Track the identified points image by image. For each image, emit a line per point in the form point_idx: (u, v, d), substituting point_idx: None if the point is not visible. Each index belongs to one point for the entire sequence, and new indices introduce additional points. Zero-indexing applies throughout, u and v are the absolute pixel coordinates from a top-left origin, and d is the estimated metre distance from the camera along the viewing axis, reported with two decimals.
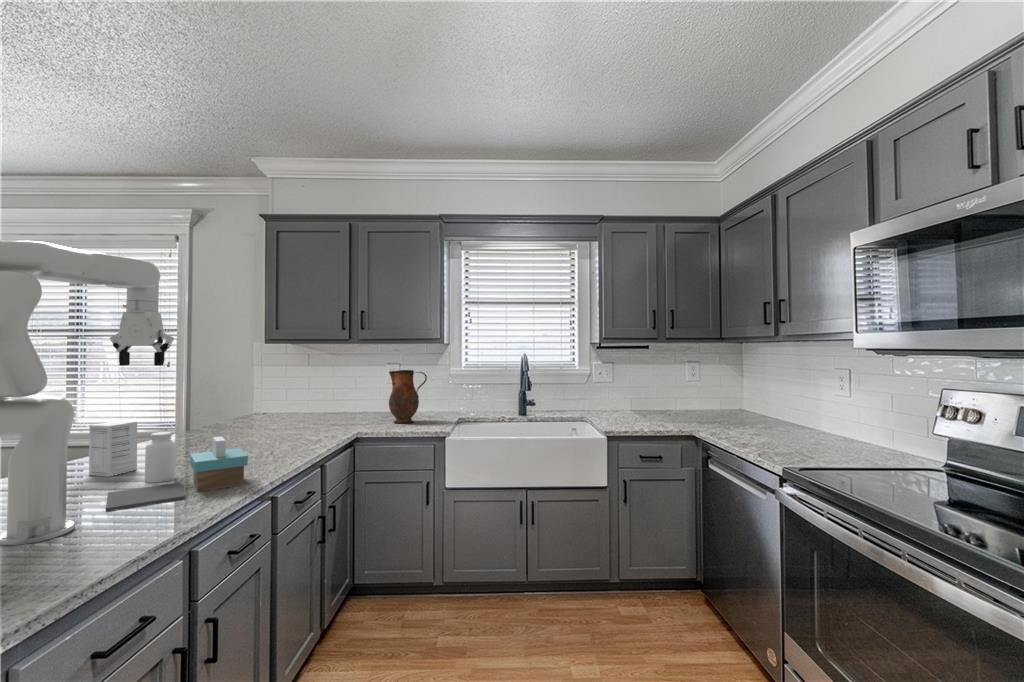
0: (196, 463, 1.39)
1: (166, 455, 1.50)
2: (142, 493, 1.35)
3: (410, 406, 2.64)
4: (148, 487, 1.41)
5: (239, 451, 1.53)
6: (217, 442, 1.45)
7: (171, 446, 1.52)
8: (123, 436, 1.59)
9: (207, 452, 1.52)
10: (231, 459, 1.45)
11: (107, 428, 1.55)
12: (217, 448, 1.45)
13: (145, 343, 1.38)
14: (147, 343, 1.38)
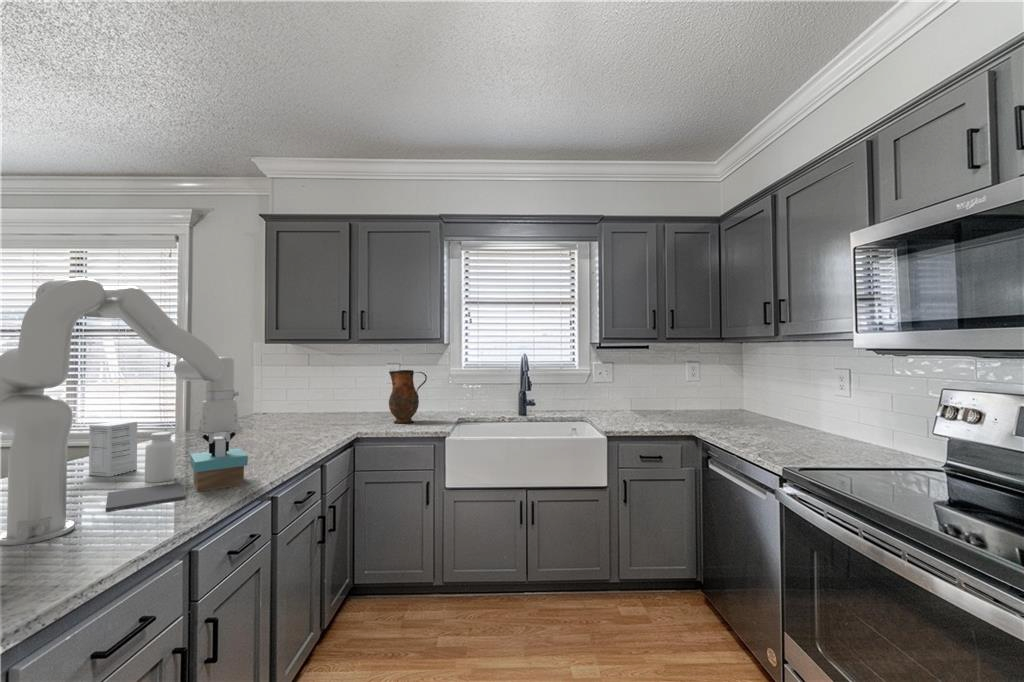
0: (196, 463, 1.39)
1: (166, 455, 1.50)
2: (142, 493, 1.35)
3: (410, 406, 2.64)
4: (148, 487, 1.41)
5: (239, 451, 1.53)
6: (217, 442, 1.45)
7: (171, 446, 1.52)
8: (123, 436, 1.59)
9: (207, 452, 1.52)
10: (231, 459, 1.45)
11: (107, 428, 1.55)
12: (217, 448, 1.45)
13: None
14: None
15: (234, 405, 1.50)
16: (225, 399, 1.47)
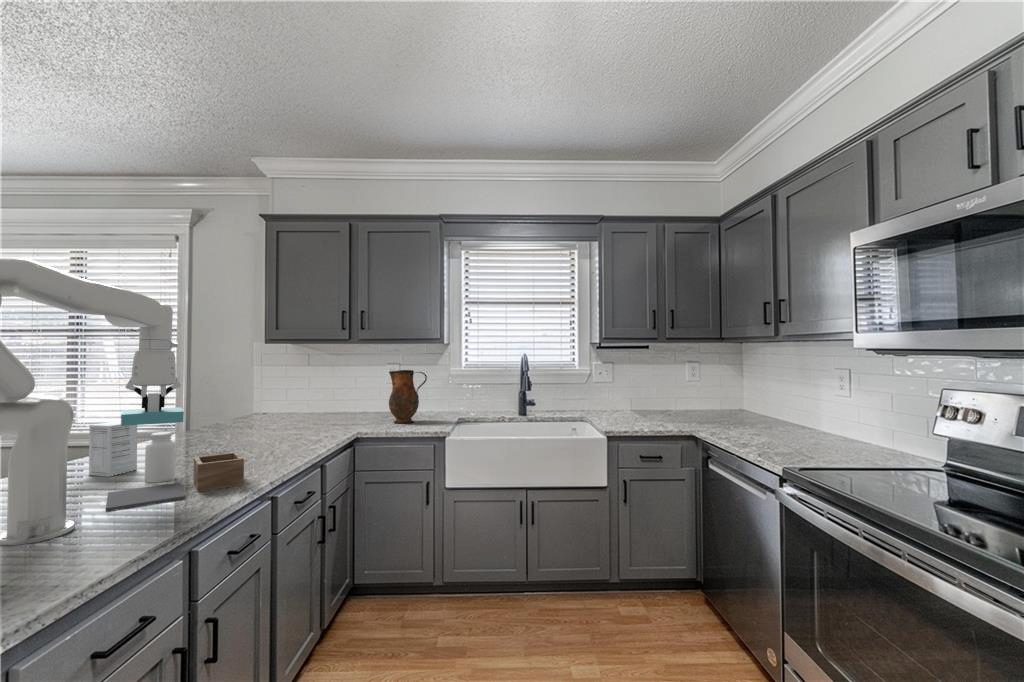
0: (123, 416, 1.26)
1: (166, 455, 1.50)
2: (142, 493, 1.35)
3: (410, 406, 2.64)
4: (148, 487, 1.41)
5: (177, 409, 1.41)
6: (149, 395, 1.32)
7: (171, 446, 1.52)
8: (123, 436, 1.59)
9: (142, 409, 1.39)
10: (164, 414, 1.32)
11: (107, 428, 1.55)
12: (149, 402, 1.32)
13: None
14: None
15: (171, 357, 1.37)
16: (160, 349, 1.34)
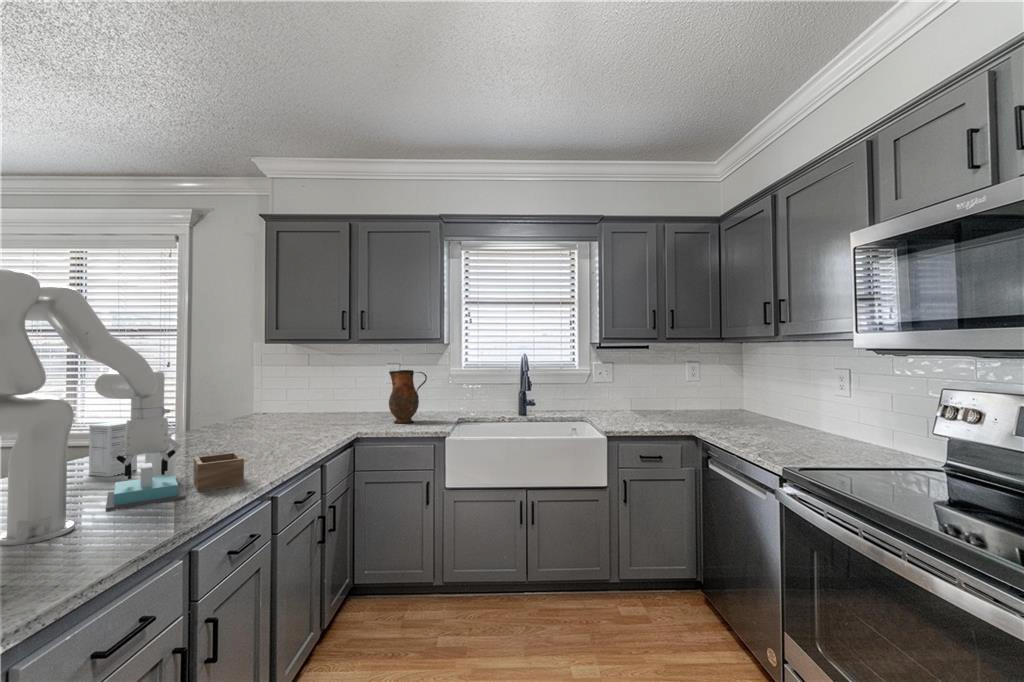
0: (116, 495, 1.25)
1: None
2: None
3: (410, 406, 2.64)
4: None
5: (171, 479, 1.40)
6: (142, 470, 1.31)
7: (171, 446, 1.52)
8: (123, 436, 1.59)
9: (135, 480, 1.38)
10: (158, 489, 1.31)
11: (107, 428, 1.55)
12: (142, 477, 1.31)
13: None
14: None
15: (164, 423, 1.36)
16: (152, 417, 1.33)
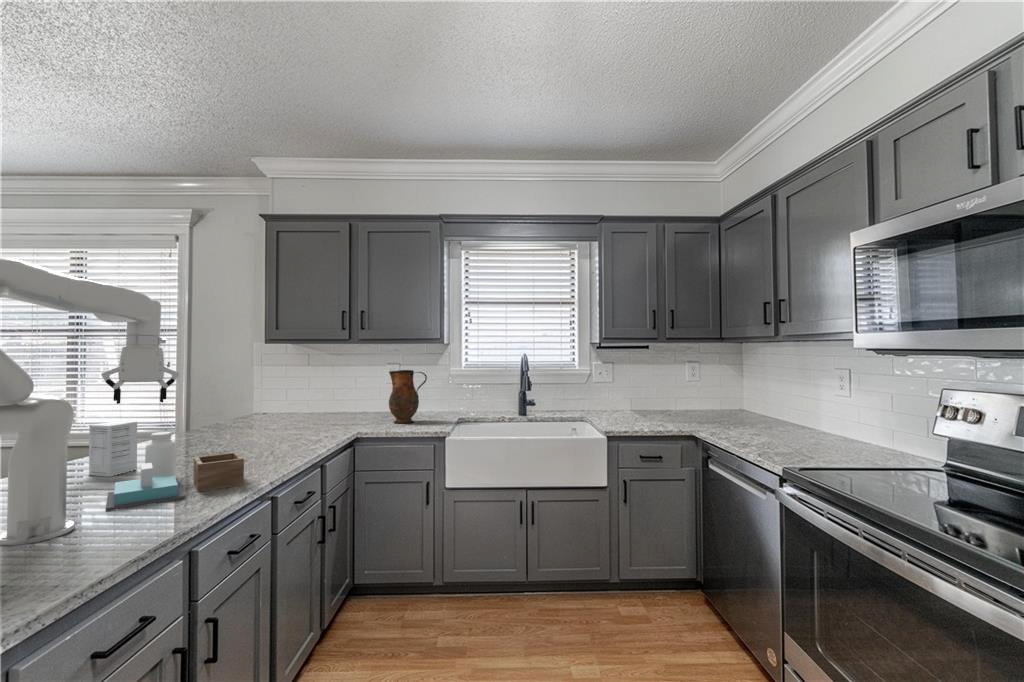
0: (116, 495, 1.25)
1: (166, 455, 1.50)
2: None
3: (410, 406, 2.64)
4: None
5: (171, 479, 1.40)
6: (142, 470, 1.31)
7: (171, 446, 1.52)
8: (123, 436, 1.59)
9: (135, 480, 1.38)
10: (158, 489, 1.31)
11: (107, 428, 1.55)
12: (142, 477, 1.31)
13: None
14: None
15: (159, 353, 1.35)
16: (147, 345, 1.33)
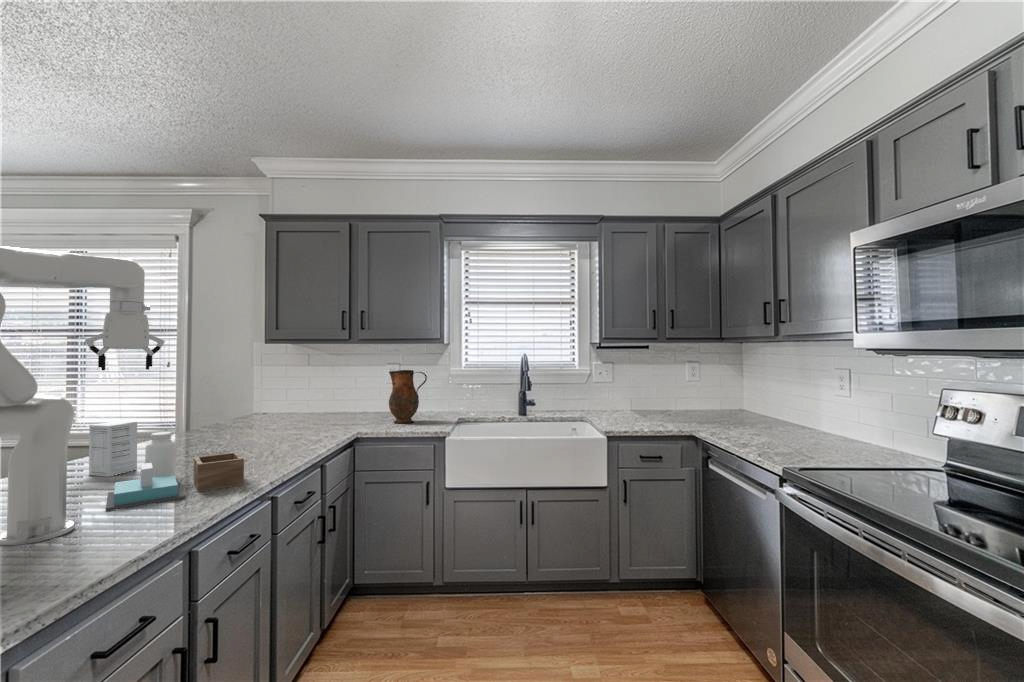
0: (116, 495, 1.25)
1: (166, 455, 1.50)
2: None
3: (410, 406, 2.64)
4: None
5: (171, 479, 1.40)
6: (142, 470, 1.31)
7: (171, 446, 1.52)
8: (123, 436, 1.59)
9: (135, 480, 1.38)
10: (158, 489, 1.31)
11: (107, 428, 1.55)
12: (142, 477, 1.31)
13: None
14: None
15: (144, 320, 1.34)
16: (132, 311, 1.31)
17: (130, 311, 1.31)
